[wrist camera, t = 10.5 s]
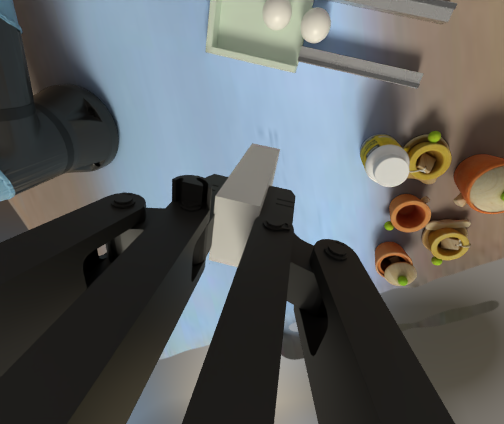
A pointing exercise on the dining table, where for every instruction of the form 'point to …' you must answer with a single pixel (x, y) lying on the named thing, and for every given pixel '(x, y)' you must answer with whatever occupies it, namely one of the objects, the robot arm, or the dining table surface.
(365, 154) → the supplement bottle
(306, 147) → the dining table surface
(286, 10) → the chip ball
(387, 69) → the slot rails
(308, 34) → the chip ball
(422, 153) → the toy tea set
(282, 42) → the tray
